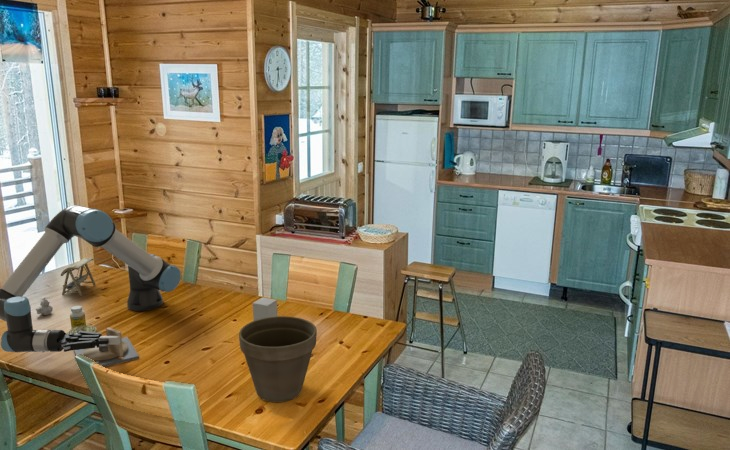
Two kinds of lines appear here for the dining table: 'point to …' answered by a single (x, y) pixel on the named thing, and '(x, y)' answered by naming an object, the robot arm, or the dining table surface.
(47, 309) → the white animal figurine
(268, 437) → the dining table surface
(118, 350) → the dial
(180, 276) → the robot arm
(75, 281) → the swing bench
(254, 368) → the plant pot
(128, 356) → the dial plate
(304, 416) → the dining table surface
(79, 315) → the supplement bottle
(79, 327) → the decorated donut
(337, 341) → the dining table surface
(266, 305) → the supplement box
